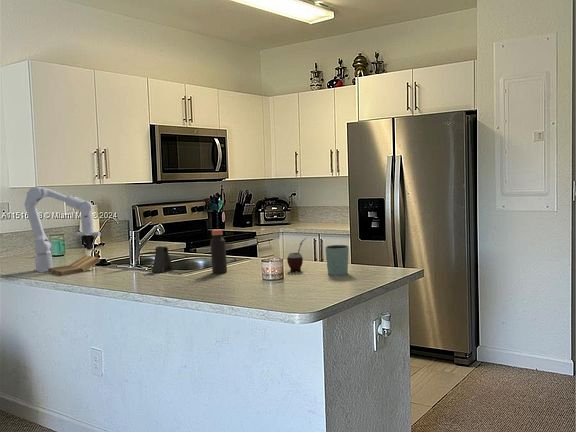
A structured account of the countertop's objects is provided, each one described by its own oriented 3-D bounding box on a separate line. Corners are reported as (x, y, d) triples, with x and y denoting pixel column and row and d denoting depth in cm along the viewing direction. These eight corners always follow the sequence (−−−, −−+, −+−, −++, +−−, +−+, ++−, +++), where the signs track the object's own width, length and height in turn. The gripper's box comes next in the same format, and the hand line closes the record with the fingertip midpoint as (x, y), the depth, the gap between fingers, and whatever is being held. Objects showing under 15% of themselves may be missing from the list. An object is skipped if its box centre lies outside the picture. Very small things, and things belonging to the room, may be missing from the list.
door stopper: (159, 273, 273) (157, 248, 272) (151, 272, 277) (150, 247, 276) (174, 269, 279) (172, 245, 278) (166, 269, 283) (165, 245, 282)
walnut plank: (48, 272, 293) (48, 268, 292) (67, 269, 299) (67, 265, 299) (61, 275, 279) (61, 271, 279) (81, 272, 286) (81, 268, 286)
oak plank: (69, 268, 300) (68, 265, 299) (85, 257, 306) (84, 254, 305) (84, 271, 287) (82, 268, 286) (100, 260, 293) (98, 257, 292)
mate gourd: (284, 271, 259) (282, 239, 257) (296, 268, 264) (294, 236, 263) (296, 273, 254) (295, 239, 252) (308, 270, 259) (306, 237, 258)
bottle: (224, 273, 262) (221, 230, 260) (210, 274, 263) (207, 231, 261) (228, 271, 268) (226, 228, 266) (215, 271, 269) (212, 229, 268)
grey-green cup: (336, 270, 254) (335, 244, 253) (354, 272, 247) (353, 245, 246) (321, 274, 247) (320, 247, 246) (339, 277, 240) (338, 248, 239)
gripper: (71, 225, 299) (73, 250, 300) (93, 224, 294) (95, 250, 295) (80, 223, 306) (82, 248, 307) (102, 223, 301) (104, 248, 302)
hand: (89, 249), depth 301 cm, fingers closed
